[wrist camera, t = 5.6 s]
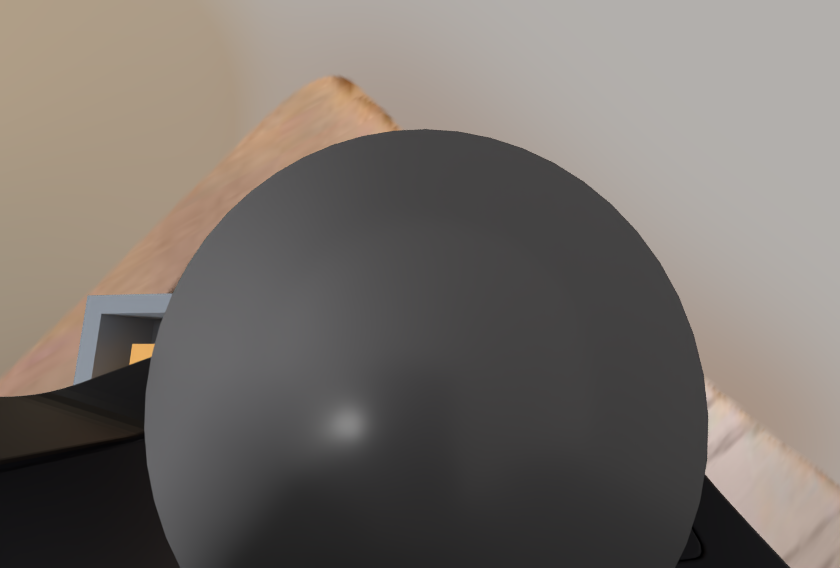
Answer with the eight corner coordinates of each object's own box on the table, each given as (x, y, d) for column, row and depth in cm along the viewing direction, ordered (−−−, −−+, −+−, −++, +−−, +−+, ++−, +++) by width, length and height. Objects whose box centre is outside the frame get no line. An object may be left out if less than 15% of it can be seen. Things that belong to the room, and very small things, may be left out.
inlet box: (337, 534, 21) (303, 582, 17) (126, 522, 22) (44, 563, 18) (345, 302, 23) (317, 289, 19) (154, 306, 25) (87, 295, 20)
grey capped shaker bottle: (514, 417, 14) (770, 744, 2) (401, 419, 15) (116, 703, 3) (505, 303, 15) (654, 102, 3) (398, 309, 16) (169, 155, 4)
